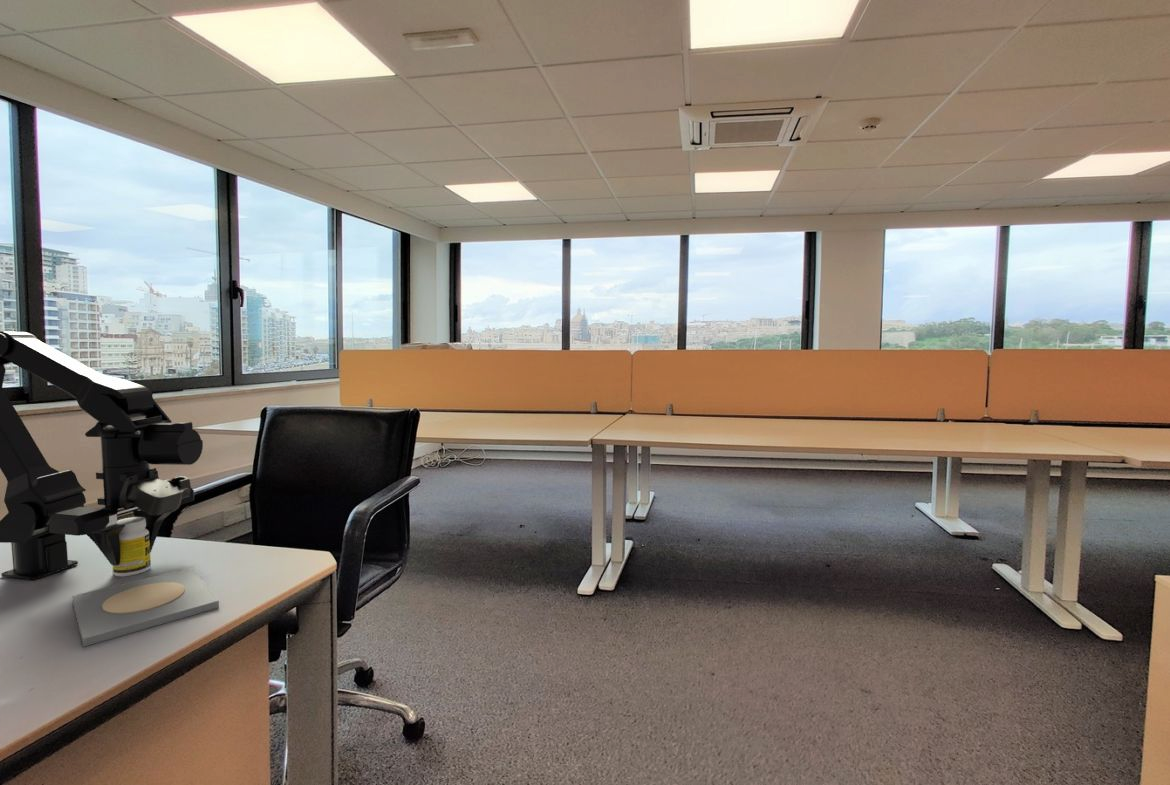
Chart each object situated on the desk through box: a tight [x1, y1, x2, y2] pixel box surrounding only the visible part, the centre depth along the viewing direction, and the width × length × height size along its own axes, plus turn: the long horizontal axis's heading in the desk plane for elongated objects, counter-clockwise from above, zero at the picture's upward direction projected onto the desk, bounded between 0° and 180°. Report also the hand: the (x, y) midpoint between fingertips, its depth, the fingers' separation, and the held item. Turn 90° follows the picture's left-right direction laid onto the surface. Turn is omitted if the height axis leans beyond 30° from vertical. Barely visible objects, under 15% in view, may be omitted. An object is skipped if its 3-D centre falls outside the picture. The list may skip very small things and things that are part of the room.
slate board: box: [72, 567, 220, 648], centre depth 76 cm, size 16×14×1 cm
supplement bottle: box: [112, 516, 152, 577], centre depth 87 cm, size 5×5×8 cm
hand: (131, 558), depth 87 cm, fingers closed on supplement bottle, 5 cm apart
